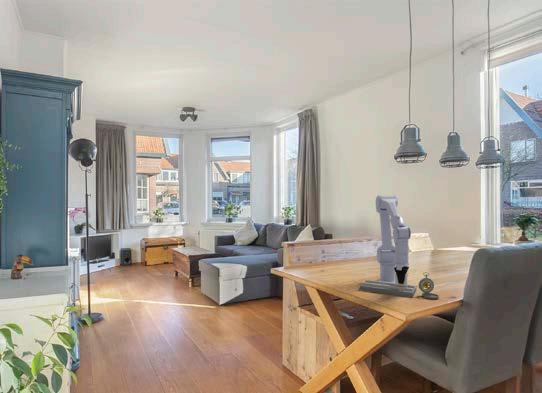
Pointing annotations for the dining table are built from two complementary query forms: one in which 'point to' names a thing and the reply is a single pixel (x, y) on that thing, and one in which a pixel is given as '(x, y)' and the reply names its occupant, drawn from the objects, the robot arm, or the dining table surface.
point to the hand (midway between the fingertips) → (401, 282)
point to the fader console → (388, 288)
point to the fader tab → (404, 281)
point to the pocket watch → (425, 283)
